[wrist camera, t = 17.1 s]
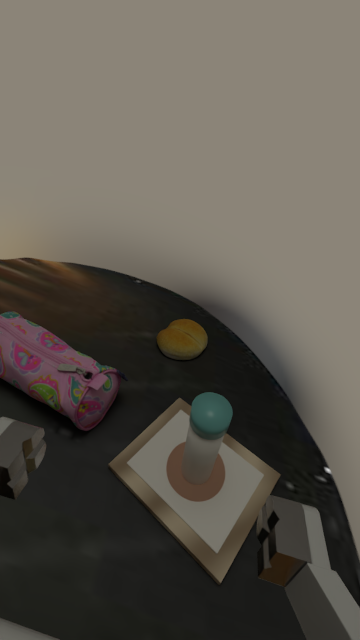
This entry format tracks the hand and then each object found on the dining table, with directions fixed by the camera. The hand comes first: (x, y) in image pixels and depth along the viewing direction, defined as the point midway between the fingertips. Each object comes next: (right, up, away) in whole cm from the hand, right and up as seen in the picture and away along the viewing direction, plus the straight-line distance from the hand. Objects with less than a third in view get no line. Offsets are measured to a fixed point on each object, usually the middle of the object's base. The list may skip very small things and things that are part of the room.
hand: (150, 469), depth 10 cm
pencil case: (-18, -5, +33) cm, 38 cm away
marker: (+3, -12, +24) cm, 27 cm away
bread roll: (+1, +1, +43) cm, 43 cm away
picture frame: (+3, -13, +25) cm, 29 cm away
